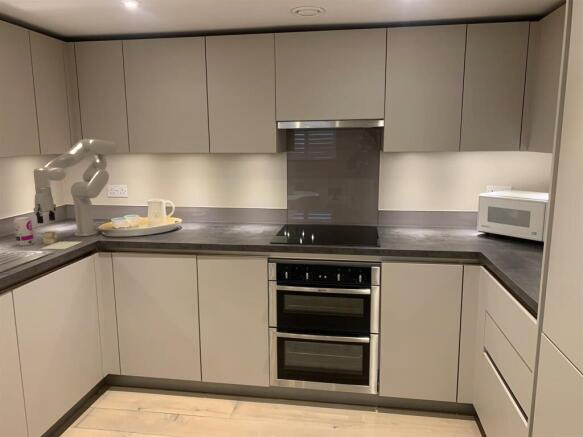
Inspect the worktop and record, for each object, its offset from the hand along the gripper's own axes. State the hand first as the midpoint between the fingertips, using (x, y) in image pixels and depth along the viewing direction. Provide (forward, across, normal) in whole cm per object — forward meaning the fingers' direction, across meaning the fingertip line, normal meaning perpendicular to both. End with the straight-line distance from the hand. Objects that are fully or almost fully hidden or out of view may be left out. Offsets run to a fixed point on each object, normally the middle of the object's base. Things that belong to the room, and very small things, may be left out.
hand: (46, 221), depth 246 cm
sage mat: (+12, +5, +11) cm, 17 cm away
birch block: (+12, -1, 0) cm, 12 cm away
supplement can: (+12, +3, -12) cm, 17 cm away
